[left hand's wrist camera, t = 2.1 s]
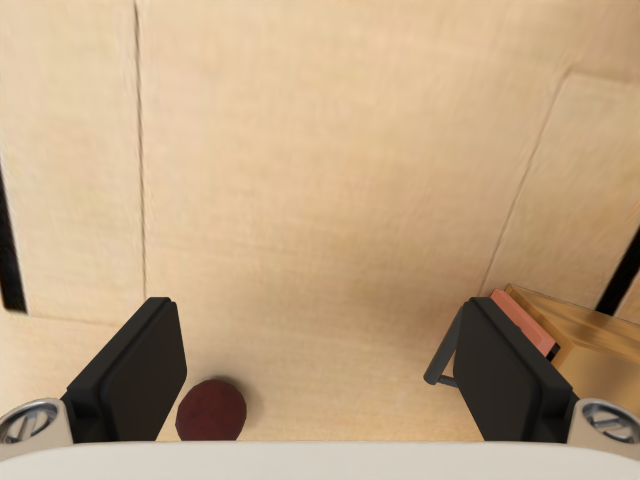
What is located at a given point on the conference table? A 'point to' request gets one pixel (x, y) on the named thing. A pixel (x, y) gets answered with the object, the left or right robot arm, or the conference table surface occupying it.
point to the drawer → (514, 313)
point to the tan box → (589, 348)
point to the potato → (211, 413)
